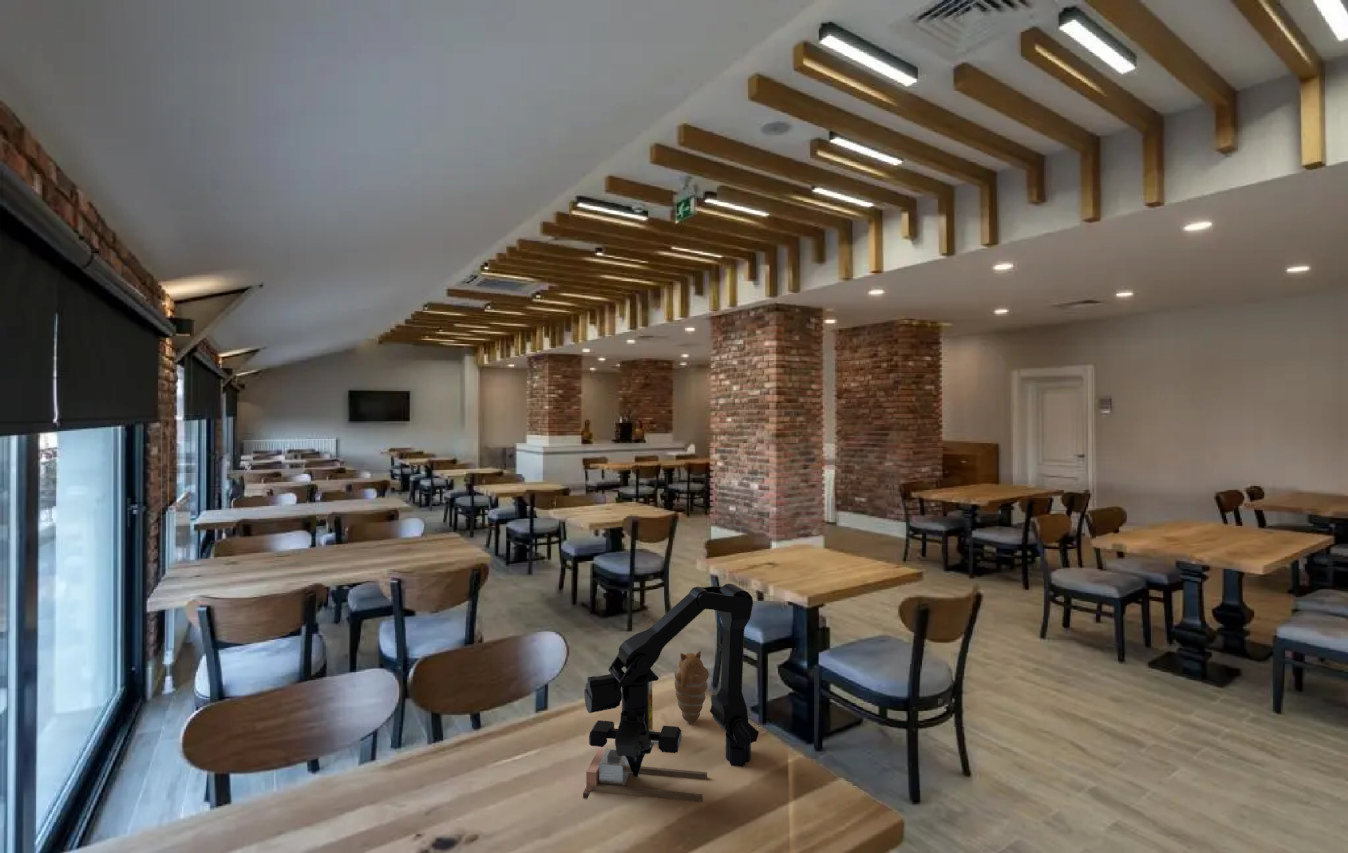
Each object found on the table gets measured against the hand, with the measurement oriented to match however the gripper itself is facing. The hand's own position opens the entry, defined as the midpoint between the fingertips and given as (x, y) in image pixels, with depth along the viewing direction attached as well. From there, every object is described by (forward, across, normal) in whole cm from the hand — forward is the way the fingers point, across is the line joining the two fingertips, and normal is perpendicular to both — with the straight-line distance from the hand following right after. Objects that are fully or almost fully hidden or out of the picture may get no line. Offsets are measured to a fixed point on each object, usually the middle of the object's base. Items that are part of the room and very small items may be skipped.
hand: (636, 776), depth 131 cm
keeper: (+1, -5, 0) cm, 5 cm away
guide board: (+3, +2, 0) cm, 4 cm away
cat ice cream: (+3, +8, +29) cm, 30 cm away
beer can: (+3, -3, +19) cm, 20 cm away
